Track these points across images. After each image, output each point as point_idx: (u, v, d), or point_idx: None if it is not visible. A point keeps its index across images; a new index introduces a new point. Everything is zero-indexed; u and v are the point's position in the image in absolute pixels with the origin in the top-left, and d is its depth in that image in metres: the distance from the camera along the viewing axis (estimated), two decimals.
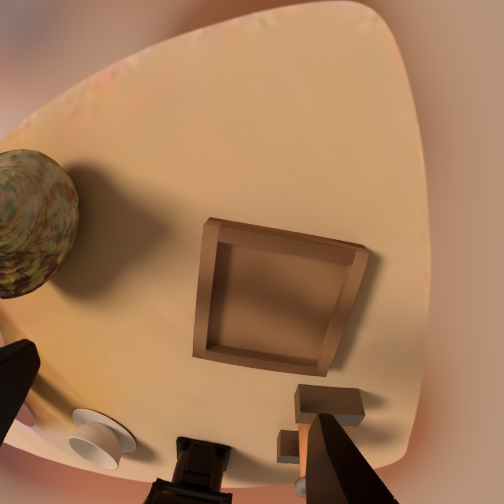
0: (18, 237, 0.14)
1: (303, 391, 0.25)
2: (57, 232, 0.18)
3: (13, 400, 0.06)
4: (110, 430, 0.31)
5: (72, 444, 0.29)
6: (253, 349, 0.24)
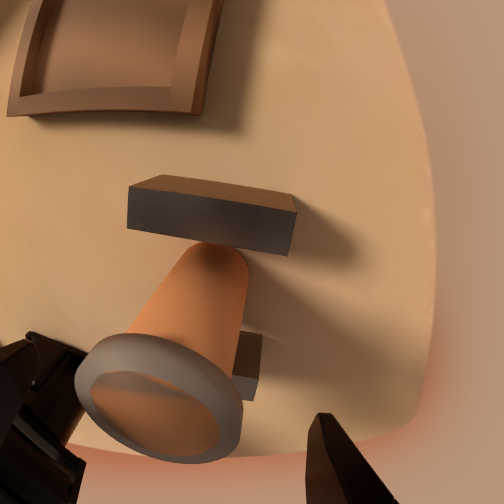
0: None
1: (163, 178, 0.13)
2: None
3: (13, 400, 0.06)
4: None
5: None
6: (80, 89, 0.11)
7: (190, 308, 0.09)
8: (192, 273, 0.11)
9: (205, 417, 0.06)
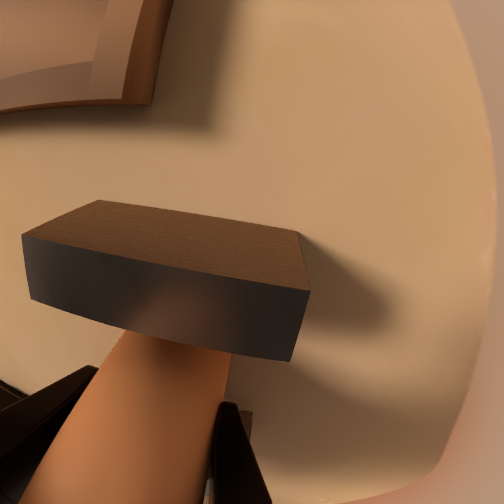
0: None
1: (93, 208, 0.07)
2: None
3: None
4: None
5: None
6: None
7: (115, 466, 0.04)
8: (129, 378, 0.06)
9: None
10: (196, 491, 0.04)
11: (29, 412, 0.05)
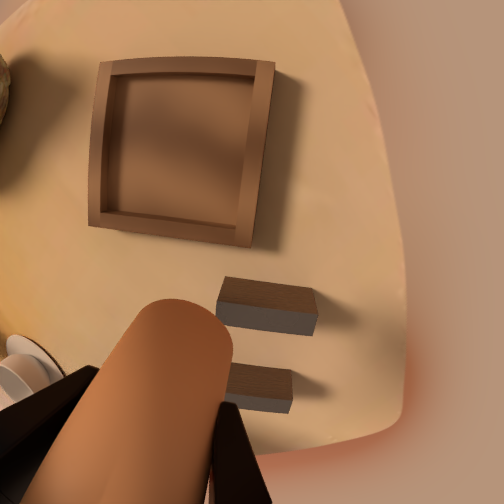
0: None
1: (229, 282, 0.20)
2: None
3: None
4: (38, 363, 0.25)
5: (1, 381, 0.23)
6: (156, 213, 0.19)
7: (116, 467, 0.04)
8: (130, 379, 0.06)
9: None
10: (197, 492, 0.04)
11: (29, 412, 0.05)
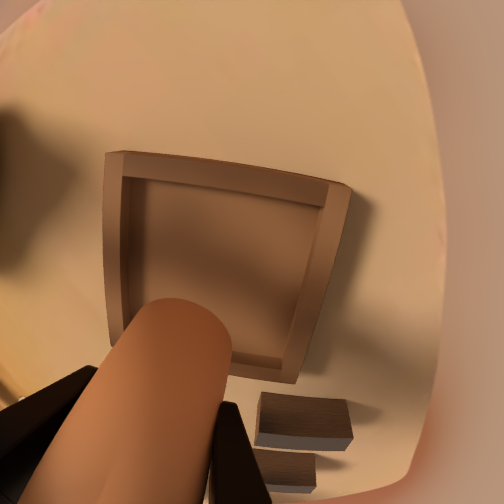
0: None
1: (267, 402, 0.18)
2: None
3: None
4: None
5: None
6: None
7: (114, 466, 0.04)
8: (128, 378, 0.06)
9: None
10: (196, 492, 0.04)
11: (29, 412, 0.05)
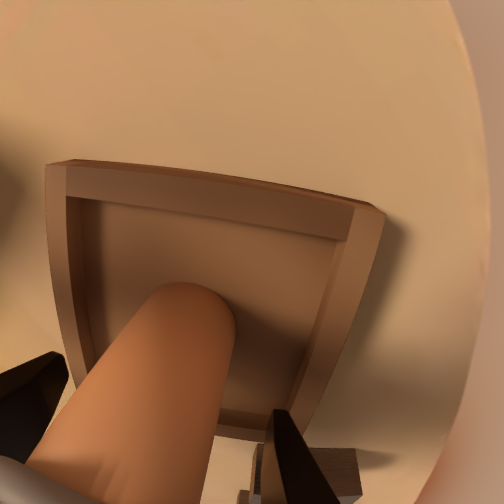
0: None
1: None
2: None
3: (42, 416, 0.06)
4: None
5: None
6: None
7: (131, 411, 0.05)
8: (145, 341, 0.07)
9: None
10: (203, 444, 0.05)
11: None
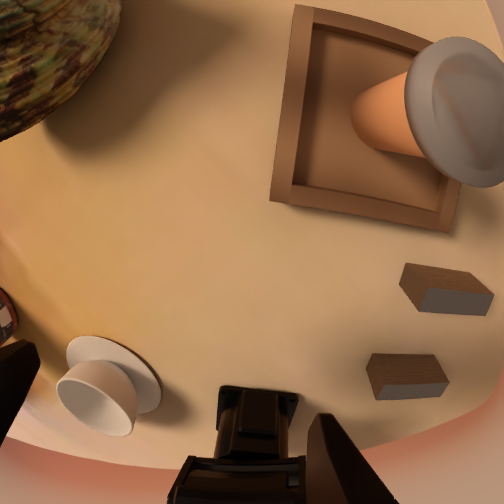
0: None
1: (416, 269, 0.17)
2: (93, 15, 0.10)
3: (13, 400, 0.06)
4: (121, 370, 0.23)
5: (64, 398, 0.20)
6: (356, 191, 0.16)
7: None
8: None
9: None
10: None
11: None
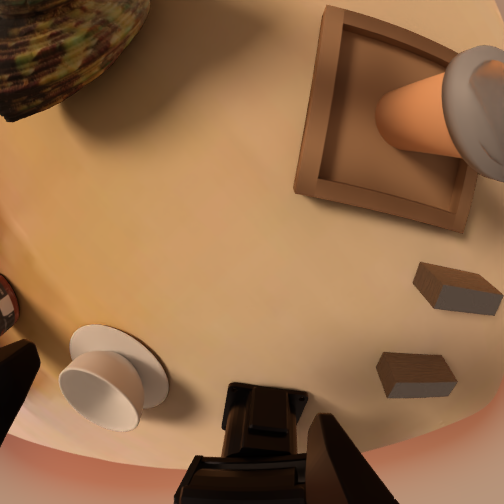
0: None
1: (430, 268, 0.17)
2: None
3: (13, 400, 0.06)
4: (128, 362, 0.22)
5: (66, 390, 0.20)
6: (377, 188, 0.16)
7: None
8: None
9: None
10: None
11: None
